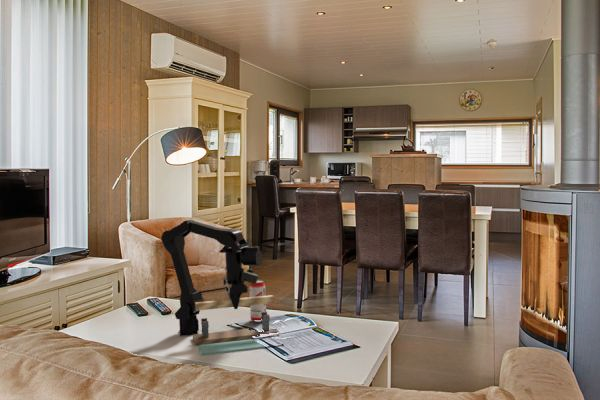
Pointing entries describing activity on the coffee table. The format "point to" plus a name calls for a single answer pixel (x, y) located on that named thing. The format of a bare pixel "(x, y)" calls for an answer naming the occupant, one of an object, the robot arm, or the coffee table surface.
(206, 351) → the teal mat
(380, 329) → the coffee table surface
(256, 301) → the oak rail
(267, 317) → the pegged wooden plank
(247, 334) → the walnut board
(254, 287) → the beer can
